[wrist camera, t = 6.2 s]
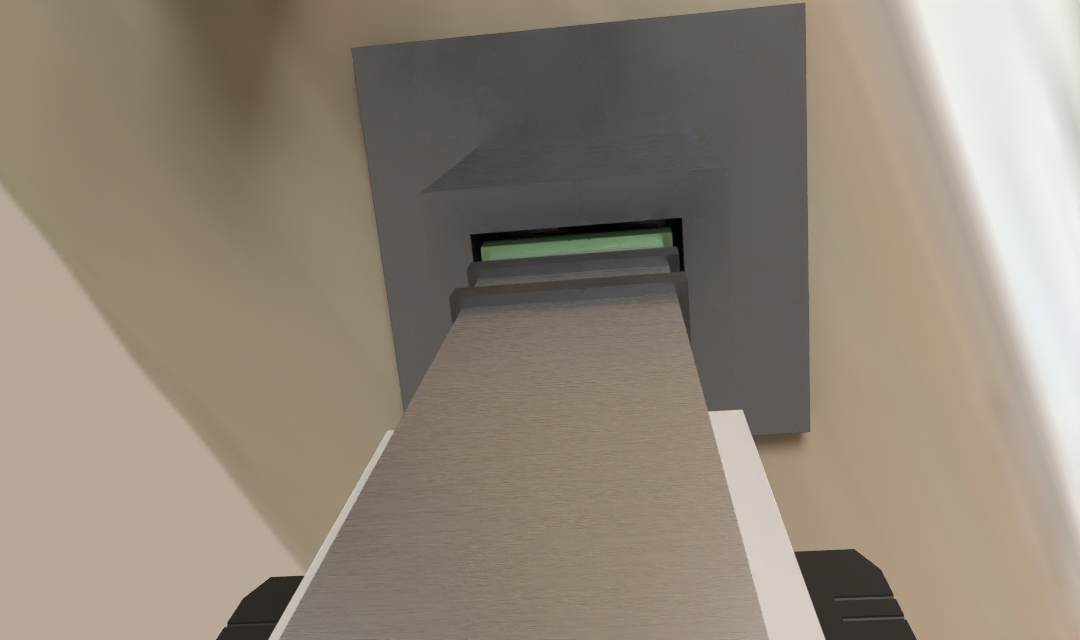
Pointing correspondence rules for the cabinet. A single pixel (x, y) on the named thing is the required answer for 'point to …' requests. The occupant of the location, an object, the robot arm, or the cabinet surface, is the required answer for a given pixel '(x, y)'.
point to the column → (548, 467)
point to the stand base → (607, 176)
